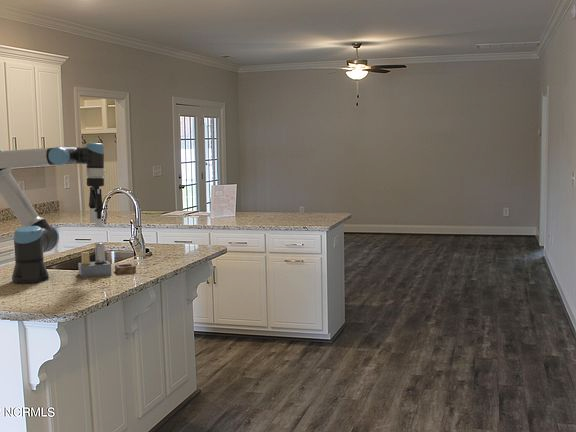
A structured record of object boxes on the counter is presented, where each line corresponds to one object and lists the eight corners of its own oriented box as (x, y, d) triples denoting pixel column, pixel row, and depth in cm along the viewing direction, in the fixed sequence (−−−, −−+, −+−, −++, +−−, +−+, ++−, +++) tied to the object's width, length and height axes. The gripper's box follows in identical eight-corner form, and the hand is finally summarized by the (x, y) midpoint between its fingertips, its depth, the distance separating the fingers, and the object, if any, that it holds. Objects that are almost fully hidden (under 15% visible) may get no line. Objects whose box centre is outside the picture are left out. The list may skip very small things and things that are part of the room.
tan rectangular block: (82, 268, 298) (82, 253, 297) (82, 267, 301) (81, 252, 300) (89, 268, 299) (89, 252, 298) (89, 267, 302) (88, 251, 301)
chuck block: (81, 280, 295) (80, 266, 294) (78, 276, 304) (78, 262, 303) (111, 277, 300) (111, 264, 299) (108, 273, 309) (107, 260, 308)
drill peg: (97, 275, 300) (95, 244, 299) (95, 273, 304) (94, 243, 302) (106, 274, 302) (104, 243, 300) (104, 272, 305) (103, 242, 304)
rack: (117, 276, 301) (116, 267, 301) (114, 273, 309) (113, 264, 309) (137, 275, 305) (137, 266, 304) (133, 271, 313) (133, 263, 312)
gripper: (109, 178, 293) (110, 227, 295) (98, 175, 315) (98, 220, 317) (92, 179, 289) (92, 227, 292) (82, 175, 311) (82, 221, 314)
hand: (95, 224), depth 304 cm, fingers open, 13 cm apart
